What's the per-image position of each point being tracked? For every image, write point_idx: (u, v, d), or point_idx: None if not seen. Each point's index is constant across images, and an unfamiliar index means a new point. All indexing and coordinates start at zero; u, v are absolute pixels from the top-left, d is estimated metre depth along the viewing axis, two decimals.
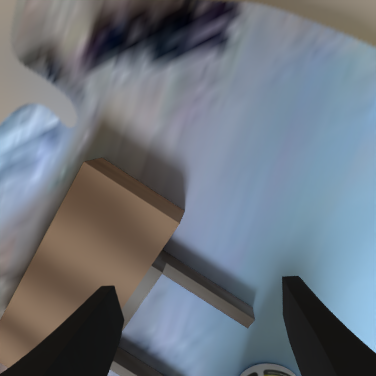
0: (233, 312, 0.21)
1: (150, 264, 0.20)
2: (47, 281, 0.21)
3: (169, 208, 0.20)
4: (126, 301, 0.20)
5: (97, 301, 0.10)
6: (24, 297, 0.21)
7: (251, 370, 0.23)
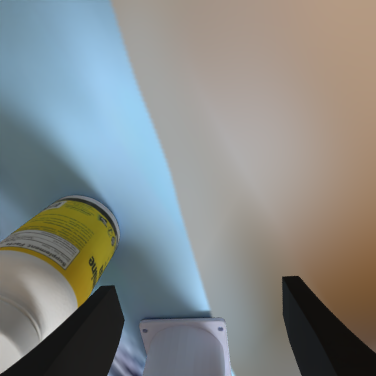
0: None
1: None
2: None
3: None
4: None
5: (97, 300, 0.10)
6: None
7: None
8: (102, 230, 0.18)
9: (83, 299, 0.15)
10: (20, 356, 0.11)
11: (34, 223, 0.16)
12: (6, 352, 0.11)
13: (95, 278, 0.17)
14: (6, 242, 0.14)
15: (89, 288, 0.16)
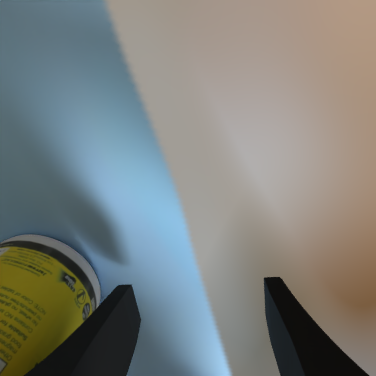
0: None
1: None
2: None
3: None
4: None
5: (116, 300, 0.10)
6: None
7: None
8: (65, 300, 0.11)
9: None
10: None
11: None
12: None
13: None
14: None
15: None
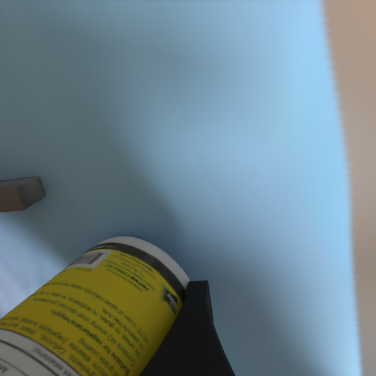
0: None
1: None
2: None
3: None
4: None
5: (200, 296, 0.10)
6: None
7: None
8: (167, 325, 0.09)
9: None
10: None
11: (37, 308, 0.08)
12: None
13: None
14: None
15: None
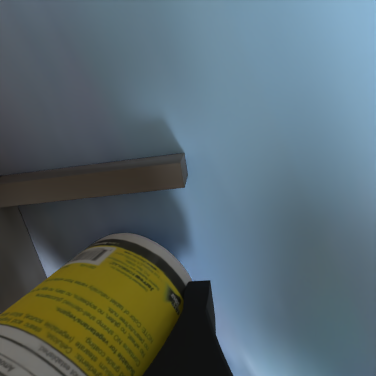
0: (136, 179, 0.10)
1: None
2: None
3: None
4: None
5: (203, 296, 0.10)
6: None
7: None
8: (171, 325, 0.09)
9: None
10: None
11: (41, 305, 0.08)
12: None
13: None
14: None
15: None
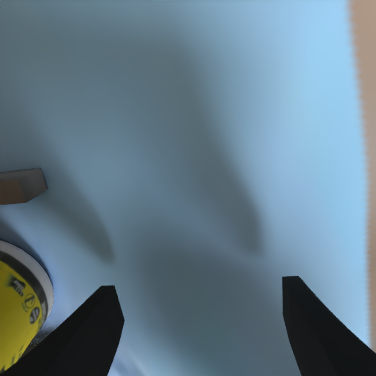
0: None
1: None
2: None
3: None
4: None
5: (97, 300, 0.10)
6: None
7: None
8: (12, 304, 0.11)
9: None
10: None
11: None
12: None
13: None
14: None
15: None
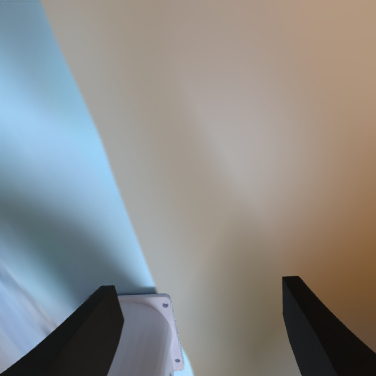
0: None
1: None
2: None
3: None
4: None
5: (97, 300, 0.10)
6: None
7: None
8: None
9: None
10: None
11: None
12: None
13: None
14: None
15: None
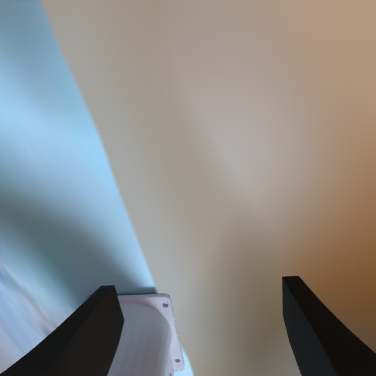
0: None
1: None
2: None
3: None
4: None
5: (97, 300, 0.10)
6: None
7: None
8: None
9: None
10: None
11: None
12: None
13: None
14: None
15: None
